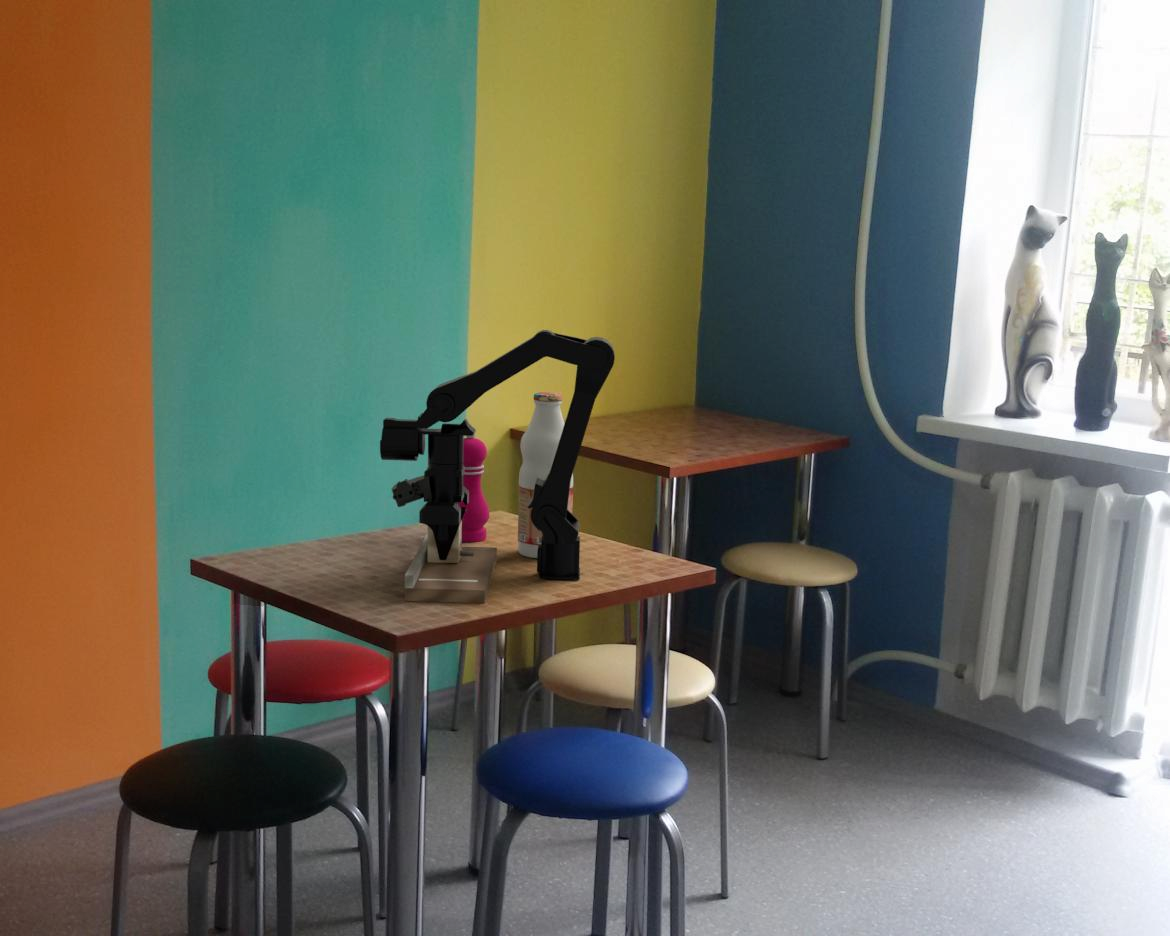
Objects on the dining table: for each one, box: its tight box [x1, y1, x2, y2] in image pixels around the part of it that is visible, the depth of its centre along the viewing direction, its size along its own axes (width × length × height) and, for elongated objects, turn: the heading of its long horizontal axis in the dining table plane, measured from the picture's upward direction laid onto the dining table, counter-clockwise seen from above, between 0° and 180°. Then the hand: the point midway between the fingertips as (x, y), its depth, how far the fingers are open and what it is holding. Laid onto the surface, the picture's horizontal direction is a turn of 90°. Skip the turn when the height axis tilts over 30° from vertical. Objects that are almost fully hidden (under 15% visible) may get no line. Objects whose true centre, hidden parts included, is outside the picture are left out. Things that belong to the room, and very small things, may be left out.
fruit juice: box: [517, 391, 574, 559], centre depth 238 cm, size 9×9×28 cm
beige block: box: [427, 520, 474, 563], centre depth 225 cm, size 7×5×6 cm
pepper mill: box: [457, 432, 490, 543], centre depth 249 cm, size 7×7×20 cm
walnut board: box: [404, 533, 498, 604], centre depth 221 cm, size 12×28×4 cm, turn 0°
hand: (444, 555), depth 225 cm, fingers closed on beige block, 5 cm apart
